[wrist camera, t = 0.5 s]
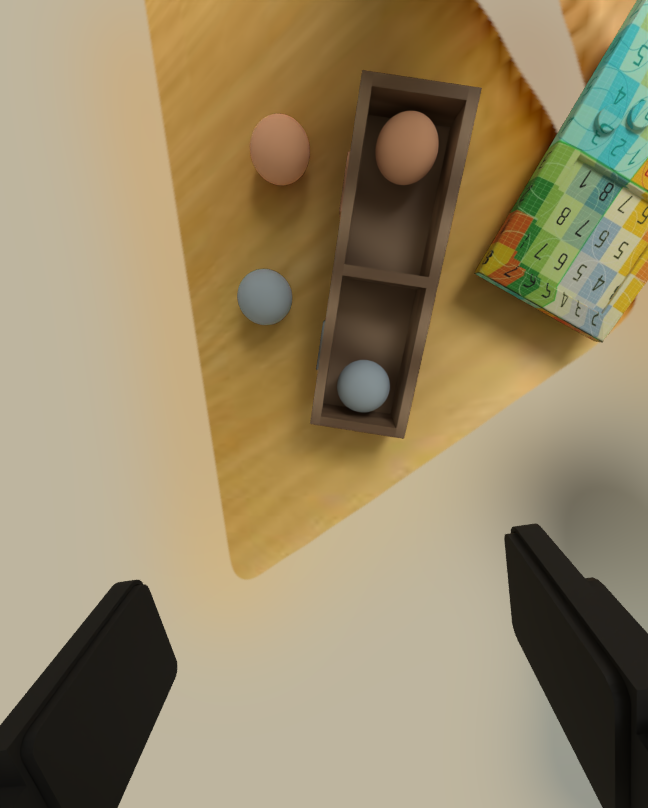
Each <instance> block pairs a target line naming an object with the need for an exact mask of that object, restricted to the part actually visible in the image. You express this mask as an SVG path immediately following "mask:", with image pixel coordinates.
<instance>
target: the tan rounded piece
mask: <svg viewBox="0 0 648 808" xmlns="http://www.w3.org/2000/svg"><path fill="white" fill-rule="evenodd" d="M438 147H439V140H438V134H437V131H436V128H435V126H434V124H433V122H432V121H431V120H430V119H429V118H428V117H427V116H426V115H424V114H423V113H420V112H417V111H404V112H401V113H398V114H397V115H395V116H393V117H392V118H391V119H390V120H389V121H388V122H387V123H386V124H385V125H384V126H383V128H382V130H381V131H380V134H379V136H378V139H377V143H376V149H375V156H376V162H377V165H378V168H379V170H380V172H381V173H382V175H383V176H384V177H385V178H386V179H387V180H389V181H390V182H392V183H394V184H398V185H409V184H412V183H415V182H417V181H419V180H420V179H422V178H423V177H424V176H425V175H426V174H427V173H428V172H429V171H430V169H431V168H432V166H433V164H434V162H435V160H436V157H437V154H438Z"/></svg>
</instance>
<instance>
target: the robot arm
mask: <svg viewBox="0 0 648 808" xmlns="http://www.w3.org/2000/svg"><path fill="white" fill-rule="evenodd" d="M505 550H506V561H507V572H508V583H509V594H510V604H511V615H512V624H513V628H514V631H515V634H516V637H517V639H518V642H519V644H520V645H521V647H522V649H523V651H524V653H525V655H526V657H527V659H528V661H529V663H530V665H531V667H532V669H533V671H534V673H535V675H536V677H537V679H538V681H539V683H540V685H541V687H542V689H543V691H544V693H545V695H546V697H547V699H548V701H549V703H550V705H551V707H552V709H553V711H554V713H555V714H556V716H557V719H558V720H559V722H560V724H561V726H562V728H563V730H564V732H565V734H566V736H567V738H568V740H569V742H570V744H571V746H572V748H573V750H574V752H575V754H576V756H577V758H578V760H579V762H580V764H581V766H582V768H583V770H584V772H585V774H586V776H587V778H588V780H589V781H590V783H591V786H592V788H593V790H594V791H595V794H596V796H597V797H598V799H599V801H600V803H601V805H602V807H603V808H648V633H647V632H646V631H645V630H644V629H643V628H642V627H641V626H640V624H638V622H637V621H636V620H635V619H634V618H633V617H632V616H631V615H630V613H629V612H628V611H627V610H626V609H625V608H624V607H623V606H622V605H621V603H620V602H619V601H618V600H617V599H616V598H615V597H614V596H613V595H612V593H611V592H610V591H609V590H608V589H607V588H606V587H605V586H604V585H603V584H602V583H601V582H600V581H599V580H597V579H595V578H584V577H583V576H582V574H581V573H580V572H579V571H578V570H577V569H576V567H575V566H574V565H573V564H572V563H571V562H570V560H569V559H568V558H567V557H566V556H565V555H564V553H563V552H562V551H561V550H560V549H559V548H558V546H557V545H556V544H555V543H554V542H553V541H552V539H551V538H550V537H549V536H548V535H547V534H546V532H545V531H544V530H543V529H542V528H541V527H540V526H539V525H538V524H529V525H522V526H515V527H512V529H511V534H506V535H505ZM176 673H177V661H176V658H175V655H174V653H173V650H172V647H171V645H170V642H169V639H168V637H167V634H166V632H165V629H164V626H163V624H162V621H161V619H160V616H159V613H158V611H157V608H156V606H155V603H154V600H153V598H152V595H151V592H150V590H149V588H148V586H146V585H143V583H142V582H141V581H140V580H132V581H124V582H118V583H116V584H114V585H113V586H112V587H111V589H110V590H109V591H108V593H107V594H106V595H105V596H104V597H103V599H102V600H101V601H100V602H99V604H98V605H97V606H96V607H95V609H94V610H93V611H92V612H91V613H90V615H89V616H88V617H87V618H86V620H85V621H84V622H83V623H82V625H81V626H80V627H79V628H78V630H77V631H76V632H75V633H74V635H73V636H72V637H71V638H70V639H69V641H68V642H67V643H66V645H65V646H64V647H63V648H62V649H61V651H60V652H59V653H58V654H57V656H56V657H55V658H54V659H53V661H52V662H51V663H50V664H49V666H48V667H47V668H46V669H45V671H44V672H43V673H42V674H41V675H40V677H39V678H38V679H37V680H36V682H35V683H34V684H33V685H32V687H31V688H30V689H29V690H28V692H27V693H26V694H25V695H24V697H23V698H22V699H21V700H20V701H19V703H18V704H17V705H16V706H15V708H14V709H13V710H12V711H11V713H10V714H9V715H8V716H7V718H6V719H5V720H4V721H3V723H2V724H1V725H0V808H118V805H119V803H120V801H121V799H122V796H123V794H124V792H125V790H126V787H127V785H128V783H129V781H130V778H131V776H132V774H133V772H134V769H135V767H136V765H137V763H138V760H139V758H140V756H141V754H142V751H143V749H144V747H145V745H146V742H147V740H148V738H149V735H150V733H151V731H152V729H153V727H154V725H155V722H156V720H157V718H158V716H159V713H160V711H161V709H162V707H163V704H164V702H165V700H166V698H167V695H168V693H169V691H170V689H171V686H172V684H173V682H174V680H175V677H176Z"/></svg>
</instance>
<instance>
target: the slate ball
mask: <svg viewBox="0 0 648 808" xmlns="http://www.w3.org/2000/svg"><path fill="white" fill-rule="evenodd" d="M237 298H238V304H239V307H240V309H241V311H242V312H243V314H244V315H245V316H246V317H247V318H248V319H249V320H251V321H252V322H254V323H257V324H260V325H272V324H275V323H277V322H279V321H281V320H282V319H283V318H284V317H285V316H286V315H287V314H288V312H289V310H290V308H291V305H292V291H291V288H290V286H289V284H288V282H287V281H286V279H285V278H284V277H283V276H282V275H280V274H279V273H277V272H276V271H273V270H270V269H258V270H255V271H252V272H250V273H249V274H248V275H246V276H245V277H244V279H243V280H242V281H241V283H240V285H239V288H238V294H237Z"/></svg>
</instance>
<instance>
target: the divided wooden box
mask: <svg viewBox="0 0 648 808" xmlns="http://www.w3.org/2000/svg"><path fill="white" fill-rule="evenodd" d="M481 89H482V88H479V87H472V86H465V85H459V84H452V83H445V82H439V81H432V80H425V79H419V78H412V77H405V76H398V75H392V74H385V73H378V72H372V71H365V70H362V75H361V82H360V89H359V96H358V102H357V109H356V116H355V123H354V129H353V136H352V143H351V150H350V151H348V155H347V162H346V169H345V175H344V182H343V189H342V196H341V203H340V210H339V214H340V225H339V231H338V238H337V245H336V252H335V259H334V265H333V272H332V279H331V286H330V292H329V299H328V306H327V313H326V320H324V321H323V326H322V333H321V340H320V347H319V354H318V361H317V367H316V370H318V374H317V381H316V388H315V394H314V401H313V408H312V415H311V422H310V424H314V425H321V426H327V427H333V428H340V429H346V430H352V431H358V432H365V433H371V434H377V435H384V436H390V437H396V438H402V439H404V436H405V432H406V427H407V423H408V418H409V414H410V409H411V405H412V400H413V396H414V391H415V387H416V382H417V378H418V373H419V369H420V364H421V360H422V355H423V351H424V346H425V342H426V337H427V333H428V328H429V324H430V319H431V315H432V310H433V305H434V301H435V296H436V292H437V287H438V283H439V278H440V274H441V269H442V265H443V260H444V256H445V251H446V247H447V242H448V238H449V233H450V229H451V224H452V220H453V215H454V211H455V206H456V202H457V197H458V193H459V188H460V184H461V179H462V175H463V170H464V166H465V161H466V157H467V152H468V147H469V143H470V138H471V134H472V129H473V125H474V120H475V116H476V111H477V107H478V102H479V98H480V93H481ZM404 111H417V112H420V113H423V114H424V115H426V116H427V117H428V118H429V119H430V120H431V121H432V122H433V124H434V126H435V128H436V131H437V134H438V140H439V147H438V154H437V157H436V160H435V162H434V164H433V166H432V168H431V169H430V171H429V172H428V173H427V174H426V175H425V176H424V177H423V178H422V179H420V180H419V181H417V182H415V183H412V184H409V185H398V184H394V183H392V182H390V181H389V180H387V179H386V178H385V177H384V176H383V175H382V173H381V172H380V170H379V168H378V165H377V162H376V156H375V149H376V143H377V139H378V136H379V134H380V131H381V130H382V128H383V126H384V125H385V124H386V123H387V122H388V121H389V120H390V119H391V118H392V117H393V116H395V115H397V114H398V113H401V112H404ZM358 360H369V361H373V362H375V363H377V364H378V365H380V366H381V367H382V368H383V369H384V370H385V372H386V373H387V375H388V378H389V382H390V390H389V394H388V397H387V399H386V401H385V402H384V403H383V404H382V405H381V406H380V407H379V408H377V409H376V410H373V411H370V412H356V411H353V410H351V409H349V408H348V407H347V406H346V405H344V403H343V402H342V401H341V399H340V397H339V395H338V391H337V381H338V378H339V375H340V373H341V372H342V370H343V369H344V368H345V367H346V366H347V365H349V364H350V363H352V362H354V361H358Z"/></svg>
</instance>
